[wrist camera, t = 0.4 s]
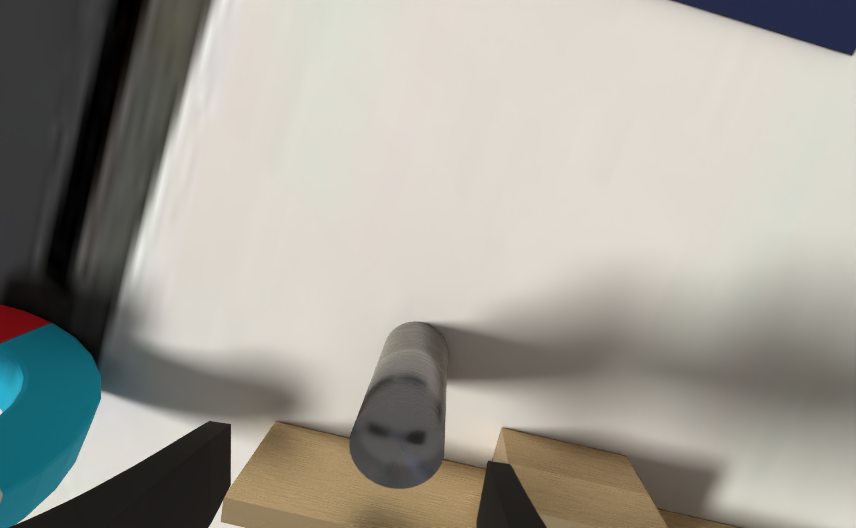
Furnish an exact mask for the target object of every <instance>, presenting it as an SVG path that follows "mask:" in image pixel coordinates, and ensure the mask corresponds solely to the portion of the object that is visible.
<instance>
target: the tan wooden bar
mask: <svg viewBox="0 0 856 528" xmlns="http://www.w3.org/2000/svg"><path fill="white" fill-rule="evenodd" d="M349 441H350V438H346V437H341V436H337V435H332V434H328V433H324V432H319V431H315V430H311V429H306V428H302V427H298V426H293V425H289V424H284V423H280V422H275V423H274V424H273V426H272V427H271V429H270V430H269V432H268V433H267V435H266V436H265V438H264V439H263V441H262V442H261V443H260V445H259V446H258V448H257V449H256V451H255V452H254V454H253V455H252V457H251V458H250V460H249V461H248V462H247V464H246V465H245V467H244V468H243V470H242V471H241V473H240V474H239V476H238V477H237V479H236V480H235V481H234V483H233V484H232V486H231V487H230V489H229V490H228V492H227V493H226V495H225V497H224V499H223V507H222V516H221V522H223V523H228V524H232V525H236V526H241V527H245V528H477V526H476V521H477V515H478V510H479V505H480V500H481V494H482V489H483V484H484V478H485V473H486V470H485V469H481V468H477V467H472V466H468V465H464V464H459V463H455V462H450V461H446V460H443V461H442V464H441V466H440V468H439V469H438V471H437V472H436V473H435V474H434V475H433V477H431V478H430V479H429V480H428V481H426V482H424V483H423V484H420V485H418V486H415V487H412V488H406V489H393V488H387V487H384V486H381V485H378V484H376V483H374V482H372V481H371V480H369V479H368V478H366V477H365V476H364V475H363V474H362V473H361V472H360V471H359V470H358V469H357V467H356V465H355V464H354V462H353V460H352V457H351V454H350V449H349ZM492 461H493V462H500V463H507V464H510V465H511V466H512V467H513V469H514V471H515V473H516V475H517V477H518V479H519V480H520V482H521V484H522V486H523V488H524V490H525V491H526V493H527V495H528V497H529V498H530V500H531V502H532V504H533V505H534V507H535V509H536V511H537V512H538V514H539V516H540V517H541V519H542V520H543V522H544V524H545V525H546V527H547V528H739V527H734V526H730V525H726V524H721V523H717V522H713V521H708V520H704V519H699V518H695V517H691V516H686V515H682V514H678V513H673V512H669V511H665V510H660V509H657V508H656V506H655V504H654V503H653V501H652V499H651V498H650V496H649V494H648V492H647V491H646V489H645V487H644V486H643V484H642V482H641V480H640V479H639V477H638V475H637V474H636V472H635V470H634V468H633V467H632V465H631V463H630V462H629V460H628V458H627V456H624V455H619V454H615V453H610V452H606V451H602V450H597V449H593V448H589V447H584V446H580V445H575V444H571V443H567V442H562V441H558V440H553V439H549V438H545V437H540V436H536V435H532V434H527V433H523V432H518V431H514V430H510V429H505V428H502V429H501V432H500V435H499V439H498V442H497V446H496V449H495V452H494V456H493V459H492Z"/></svg>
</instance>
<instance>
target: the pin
mask: <svg viewBox="0 0 856 528" xmlns="http://www.w3.org/2000/svg"><path fill="white" fill-rule="evenodd" d="M447 359H448V349H447V344H446V341H445V339H444V338H443V336H442V335H441V333H440V332H439V331H438V330H436V329H435V328H434V327H432V326H430V325H428V324H425V323H421V322H409V323H405V324H402V325H400V326H398V327H397V328H395V329H394V330H393V331H392V332H391V333H390V335H389V336H388V338H387V340H386V342H385V345H384V348H383V350H382V353H381V356H380V358H379V361H378V364H377V366H376V369H375V371H374V374H373V377H372V379H371V382H370V385H369V387H368V390H367V392H366V395H365V398H364V400H363V403H362V406H361V408H360V411H359V414H358V416H357V419H356V421H355V424H354V427H353V429H352V432H351V435H350V441H349V449H350V454H351V457H352V460H353V462H354V464H355V465H356V467H357V469H358V470H359V471H360V472H361V473H362V474H363V475H364V476H365V477H366V478H368V479H369V480H371V481H372V482H374V483H376V484H378V485H381V486H384V487H387V488H393V489H406V488H412V487H415V486H418V485H420V484H423V483H424V482H426V481H428V480H429V479H430V478H431V477H433V475H434V474H435V473H436V472H437V471H438V469H439V468H440V466H441V464H442V461H443V457H444V443H445V415H446V387H447Z"/></svg>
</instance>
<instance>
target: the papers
mask: <svg viewBox="0 0 856 528" xmlns="http://www.w3.org/2000/svg"><path fill="white" fill-rule="evenodd" d="M676 1H679V2H682V3H686V4H689V5H692V6H695V7H699V8H702V9H705V10H708V11H711V12H715V13H718V14H721V15H724V16H728V17H731V18H734V19H737V20H740V21H744V22H747V23H750V24H753V25H757V26H760V27H763V28H766V29H769V30H773V31H776V32H779V33H782V34H786V35H789V36H792V37H795V38H798V39H802V40H805V41H808V42H811V43H815V44H818V45H821V46H824V47H827V48H831V49H834V50H837V51H840V52H844V53H847V54H850V55H852V54H853V52H854V50H855V48H856V0H676Z"/></svg>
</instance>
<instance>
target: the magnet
mask: <svg viewBox="0 0 856 528" xmlns="http://www.w3.org/2000/svg"><path fill="white" fill-rule="evenodd" d="M100 400H101V376H100V373H99V371H98V368H97V366H96V364H95V362H94V359H93V357H92V355H91V354H90V353H89V352H88V351H87V350H86V349H85V347H84V346H83V345H82V344H81V343H80V342H79V341H78V340H77V339H76V338H75V337H74V336H72V335H71V334H69V333H67V332H66V331H64V330H63V329H61V328H60V327H58V326H57V325H55V324H54V323H52V322H50V321H47V320H45V319H42V318H40V317H38V316H35V315H33V314H30V313H28V312H26V311H23V310H20V309H16V308H12V307H9V306H5V305H1V304H0V409H1V410H2V411H3V413H2V414H1V415H0V528H9V527H11V526H14V525H15V524H17V523H18V522H20V521H21V520H22V519H24V518H25V517H26V516H27V515H28V514H30V513H31V512H32V511H33V510H34V509H35V508H36V507H37V506H38V505H39V504H40V503H41V502H42V501H43V500H44V499H46V498H47V497H48V496H49V495H50V494H51V493H52V492H53V491H54V490H55V489H56V488H57V487H58V485H59V484H60V483H61V481H62V480H63V478H64V477H65V476H66V474H67V473H68V471H69V470H70V469H71V467H72V466H73V465H74V463H75V461H76V459H77V457H78V454H79V452H80V449H81V447H82V445H83V442H84V440H85V437H86V435H87V433H88V430H89V428H90V425H91V423H92V420H93V418H94V415H95V413H96V410H97V407H98V405H99V402H100Z"/></svg>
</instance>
